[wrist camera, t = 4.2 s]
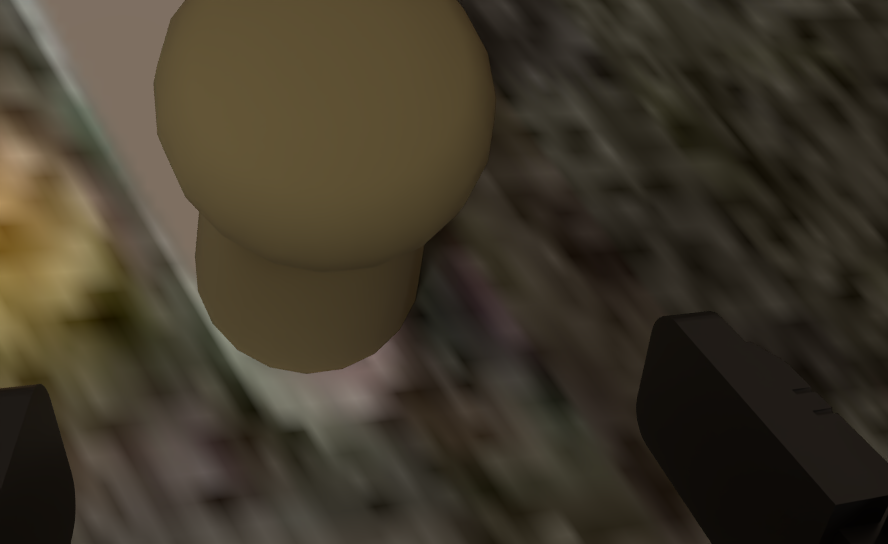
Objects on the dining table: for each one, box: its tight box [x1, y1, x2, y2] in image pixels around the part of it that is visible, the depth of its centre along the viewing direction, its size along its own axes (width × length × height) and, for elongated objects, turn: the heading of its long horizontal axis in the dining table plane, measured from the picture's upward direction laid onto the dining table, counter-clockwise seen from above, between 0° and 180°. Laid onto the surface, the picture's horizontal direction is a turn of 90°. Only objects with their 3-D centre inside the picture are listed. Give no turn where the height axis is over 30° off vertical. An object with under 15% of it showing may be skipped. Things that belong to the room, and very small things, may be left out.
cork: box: [154, 0, 496, 374], centre depth 16 cm, size 6×6×11 cm
